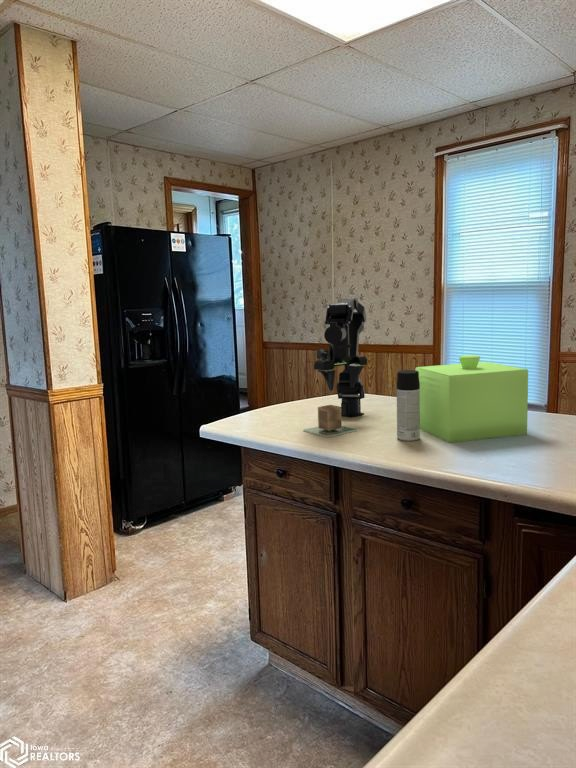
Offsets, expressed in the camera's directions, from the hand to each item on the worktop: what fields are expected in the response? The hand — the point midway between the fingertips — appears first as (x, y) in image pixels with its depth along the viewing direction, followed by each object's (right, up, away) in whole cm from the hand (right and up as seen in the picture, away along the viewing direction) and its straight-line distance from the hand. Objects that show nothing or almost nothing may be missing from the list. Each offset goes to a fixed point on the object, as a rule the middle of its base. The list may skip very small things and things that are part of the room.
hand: (341, 388), depth 190 cm
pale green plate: (-4, -13, -7) cm, 16 cm away
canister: (+38, -13, -13) cm, 42 cm away
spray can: (+18, -15, -20) cm, 31 cm away
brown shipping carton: (-4, -12, -7) cm, 15 cm away
